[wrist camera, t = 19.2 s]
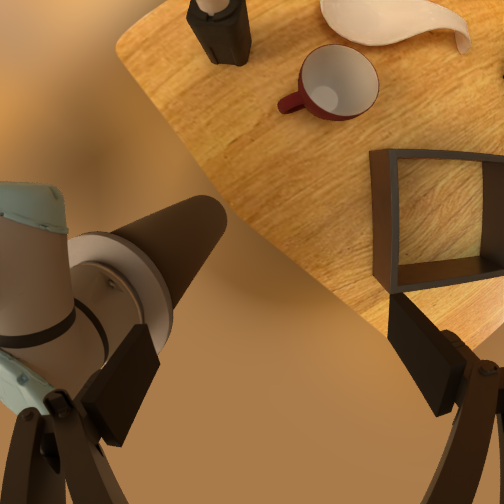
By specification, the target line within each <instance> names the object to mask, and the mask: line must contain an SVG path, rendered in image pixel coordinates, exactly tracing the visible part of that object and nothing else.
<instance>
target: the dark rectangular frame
mask: <svg viewBox="0 0 504 504" xmlns="http://www.w3.org/2000/svg"><path fill="white" fill-rule="evenodd" d="M369 158H370V171H371V187H372V211H373V276H374V277H375V278H376V279H377V280H378V281H379V283H380V284H381V285H382V286H383V287H384V288H385V289H386V291H387V292H388V293H389V294H395V293H400V292H410V291H417V290H423V289H430V288H437V287H443V286H449V285H455V284H461V283H467V282H473V281H478V280H484V279H489V278H494V277H499V276H504V156H503V155H494V154H484V153H473V152H460V151H445V150H422V149H383V150H375V151H369ZM397 159H444V160H464V161H480V162H482V168H483V221H482V238H481V250H480V256H475V257H467V258H459V259H451V260H443V261H435V262H427V263H418V264H409V265H400V266H398V262H399V187H398V168H397Z"/></svg>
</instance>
